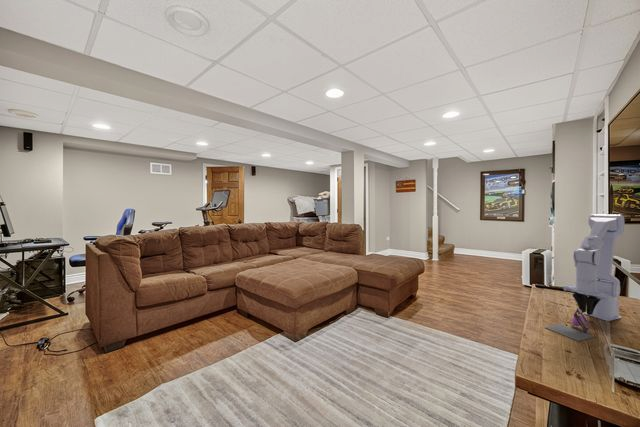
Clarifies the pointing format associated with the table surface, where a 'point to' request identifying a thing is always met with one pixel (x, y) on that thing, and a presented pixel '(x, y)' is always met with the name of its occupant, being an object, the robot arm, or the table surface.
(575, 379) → the table surface
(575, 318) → the purple monster photo frame
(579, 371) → the table surface
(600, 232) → the robot arm
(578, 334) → the mat
